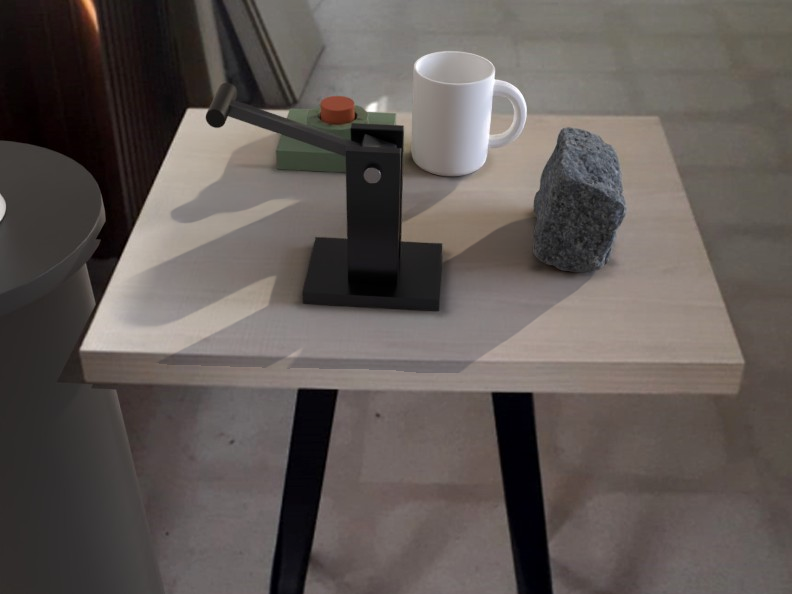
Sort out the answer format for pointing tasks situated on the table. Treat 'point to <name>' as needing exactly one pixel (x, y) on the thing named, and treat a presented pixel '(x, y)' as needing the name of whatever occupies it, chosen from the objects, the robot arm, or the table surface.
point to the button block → (314, 158)
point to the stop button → (337, 110)
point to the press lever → (279, 123)
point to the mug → (458, 112)
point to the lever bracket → (374, 237)
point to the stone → (578, 203)
